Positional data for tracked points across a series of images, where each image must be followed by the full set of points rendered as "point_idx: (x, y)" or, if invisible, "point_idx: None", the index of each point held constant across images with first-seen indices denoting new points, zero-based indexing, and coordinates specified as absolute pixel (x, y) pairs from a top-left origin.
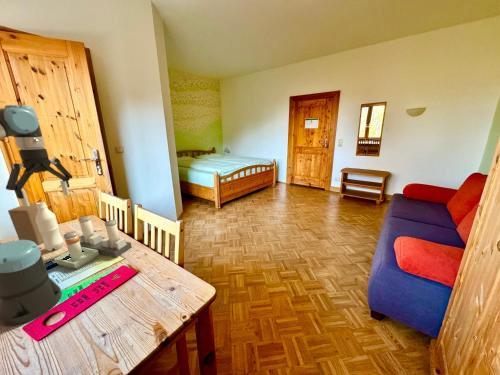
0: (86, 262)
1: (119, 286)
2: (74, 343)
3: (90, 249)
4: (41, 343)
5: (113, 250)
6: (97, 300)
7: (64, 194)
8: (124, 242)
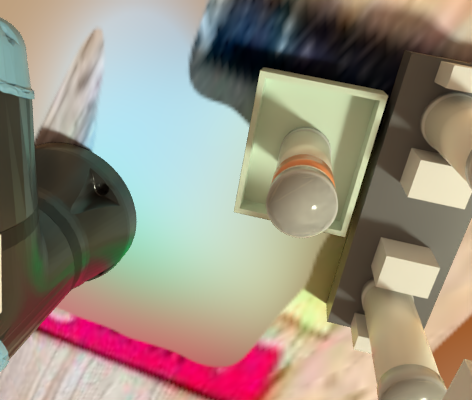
0: None
1: (183, 389)
2: (28, 386)
3: (352, 193)
4: None
5: (343, 307)
6: (127, 364)
7: (460, 384)
8: None
